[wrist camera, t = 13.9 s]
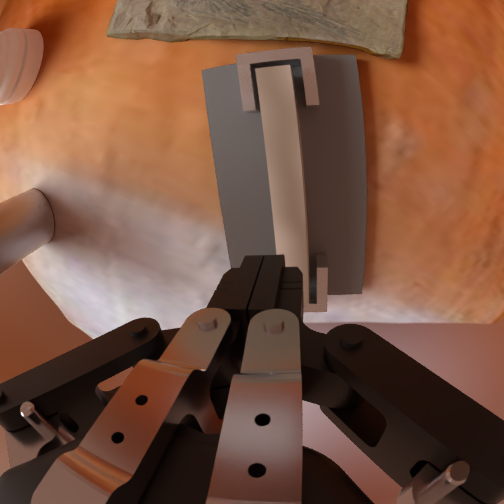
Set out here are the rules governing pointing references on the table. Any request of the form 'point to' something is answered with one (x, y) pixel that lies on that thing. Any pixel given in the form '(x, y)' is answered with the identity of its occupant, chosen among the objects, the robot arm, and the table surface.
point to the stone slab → (267, 21)
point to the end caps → (305, 60)
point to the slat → (285, 167)
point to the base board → (314, 163)
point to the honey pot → (19, 62)
